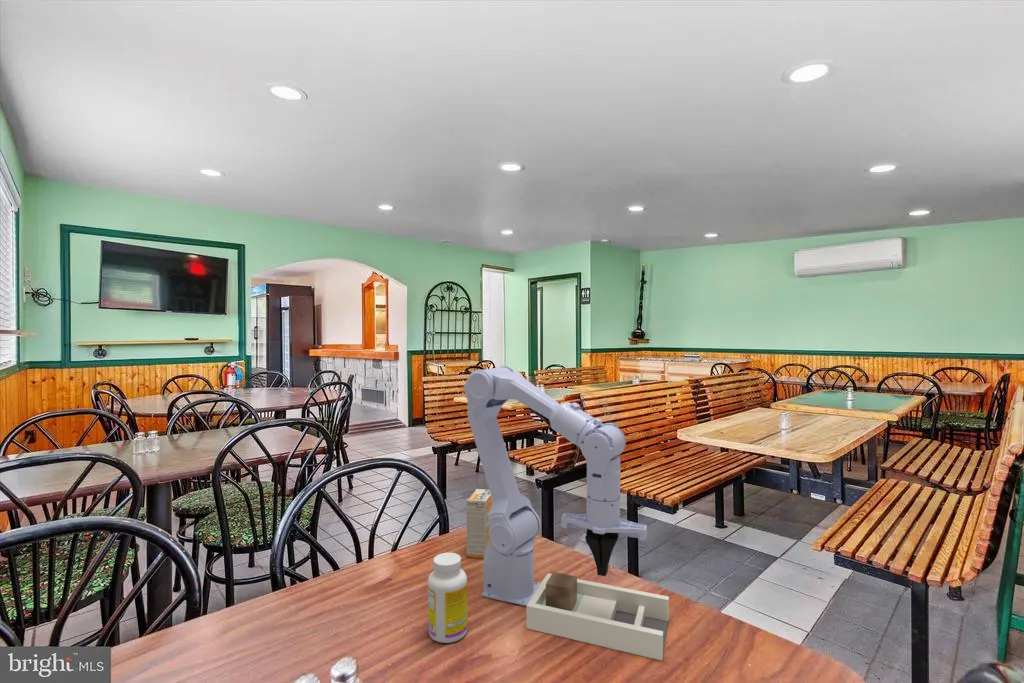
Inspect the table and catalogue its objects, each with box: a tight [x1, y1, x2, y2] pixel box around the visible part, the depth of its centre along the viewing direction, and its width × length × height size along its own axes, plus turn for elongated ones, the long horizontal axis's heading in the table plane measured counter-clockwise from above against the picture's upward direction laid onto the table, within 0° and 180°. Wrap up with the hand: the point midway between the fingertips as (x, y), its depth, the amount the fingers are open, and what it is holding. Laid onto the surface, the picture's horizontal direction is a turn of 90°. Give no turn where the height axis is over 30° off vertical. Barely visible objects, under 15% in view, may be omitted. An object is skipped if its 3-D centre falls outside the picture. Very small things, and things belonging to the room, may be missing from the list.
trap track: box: [526, 573, 670, 661], centre depth 89 cm, size 22×12×4 cm, turn 68°
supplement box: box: [465, 488, 493, 560], centre depth 117 cm, size 8×5×13 cm, turn 168°
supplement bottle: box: [427, 552, 469, 644], centre depth 86 cm, size 7×7×13 cm
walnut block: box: [546, 571, 578, 611], centre depth 91 cm, size 4×4×4 cm
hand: (602, 573), depth 88 cm, fingers closed
